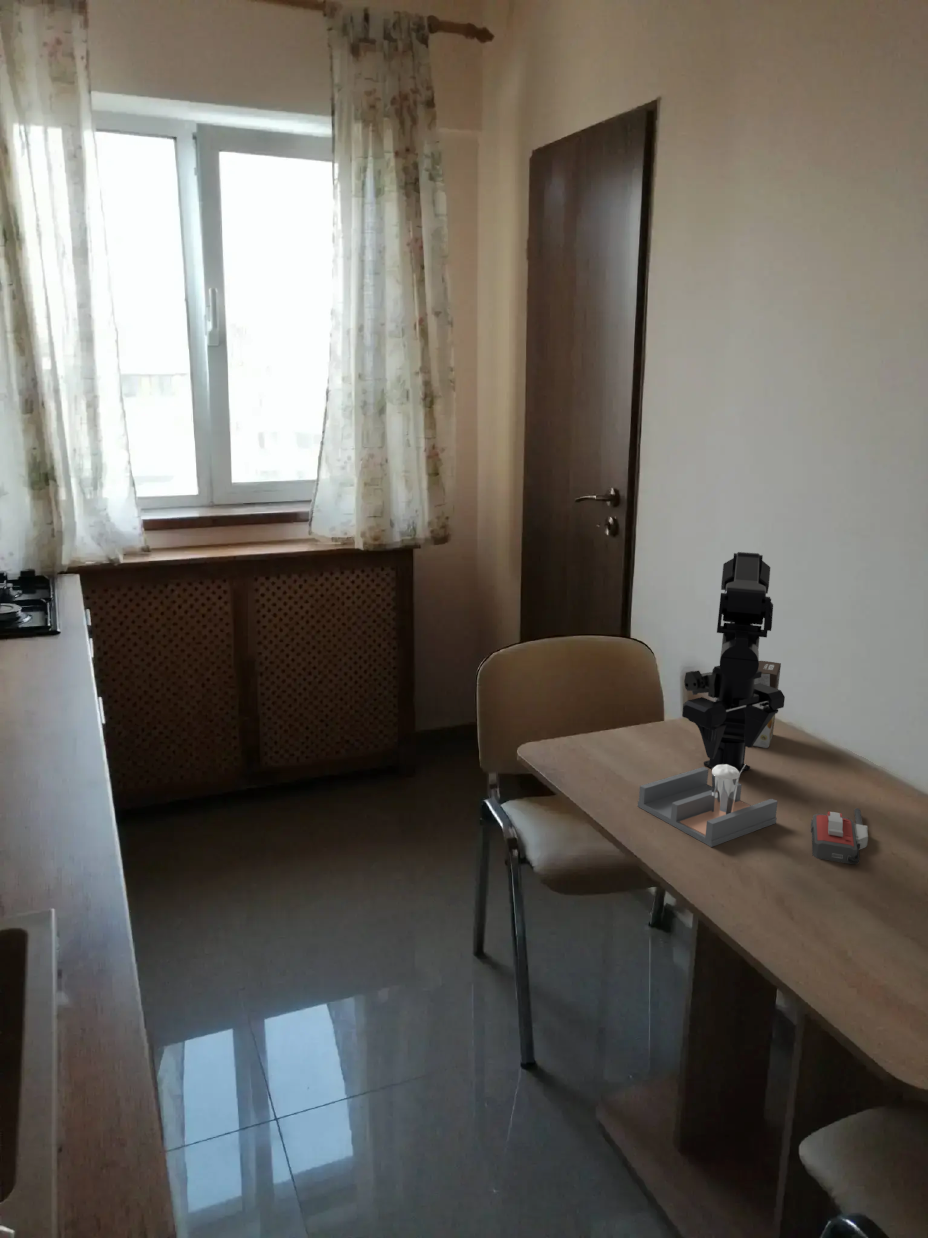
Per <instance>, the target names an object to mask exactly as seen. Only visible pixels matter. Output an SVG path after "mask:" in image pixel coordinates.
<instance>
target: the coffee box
mask: <svg viewBox="0 0 928 1238" xmlns="http://www.w3.org/2000/svg"><path fill="white" fill-rule="evenodd" d="M781 667H782V663H780V662H775V661H773V662H772V661H767V660H759V667H758V670H759V671H762V674H761V678H757V679H755V684H758V683H761V684H764V685H767V686H770V687H773V688H776V689H779V684H780V676H781V675H780V674H781ZM775 721H776V714H775V715H774V716H773V717H772V719H771V720H770V721H769V723H768V724H767V725H766V727H765V728H764V729H763V731H762V732H761V734H760V735H759V737H758V738H757V740H756V741H755V743H754V744H753V746H752V747H758V748H763V749H768V748H769V746H770V745H771V741H772V738H773V735H774V729H775Z"/></svg>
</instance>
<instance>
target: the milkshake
mask: <svg viewBox="0 0 928 1238" xmlns="http://www.w3.org/2000/svg"><path fill="white" fill-rule="evenodd" d="M744 764H745V765H747V764H746V763H745V762H744ZM745 765H744V767H745ZM744 767H743V768H744ZM743 768H742V770H743ZM711 769H712V768H711ZM742 770H741V772H739V771H738V770H737V769H736V768H735V767H733V766H730V765H727V764H725V765H717V766H715V767H714V768H713V769H712V770H711V786H712V816H713V817H714V818H717V817H720V816H723V815H726V814H729V813H732V812H733V807H734V802H735V796H736V791H737V786H738V783H739V781H740V776H741V774H742Z"/></svg>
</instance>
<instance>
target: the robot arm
mask: <svg viewBox="0 0 928 1238" xmlns="http://www.w3.org/2000/svg"><path fill="white" fill-rule="evenodd" d="M770 577H771V566H770V565H769V564H768V563H766V562H765V561H764V560H763V555H762V554H760V553H758V552H757V553H755V552H742V551H741V552H740V551H738V552H736V553H735V552H734V553H733V557H732V558H731V559H729V560H728V561H725V562H724V563H723V565H722V575H721V586H720V590H721V591H724V592H720V599H719V608H718V616H717V617H718V618H717V627H716V634H722V641H721V650H720V656H719V657H720V658H719V665H716V666H714V667H713V668H712V671H710V672H709V671H708V672H704V673H701V671H700V670H692V671H687V672H685V674H684V682H683V683H684V687H685V690H686V691H687V692H691V694H692V695H693V696H694V695H698V694H708V695H707V696H708V697H710V698H713V699H714V700H711V699H708V698H706V697H703V696H701V697H697V698H693V699H688V700H687V701H685V702H684V703H683V704H682V710H681V711H682V714H681V717H683V718H685V719H687V720H688V721H689V722H691V723H693V724H695V725H696V727H697V728H698V730H699V732H700V733H699V734H700V735H701V738H702V743H703V746H704V749H705V754H706V756H707V758H709V759H708V760H706V761H704V762H703V765H704V766H706V767H707V768H710V769H713V768H714V767H715V766H717V765H725V764H727V765H730V766H733V767H735V768H736V769H737V770H738V771H739V773H740V772H741V770H742V768H743V767H744V765H745V757H746V749H747V748H749V749H750V748H752V747H754V746H753V744H754V743H755V741H756V740H757V738H758V737H759V735H760V734H761V732H762V731H763V729H764V728H765V727H766V725H767V724H768V723H769V721H770V720H771V719H772V717H773V716H774V715H775V716H776V714H778V713H779V709H783V708H784V707H785V697H786V696H785V694H784V692H782V690H781V689H779V688H778V689H776V688H773V687H770V686H767V685H764V684H761V683H758V684H755V679H757V678H761V674H762V671H759V670H758V667H759V661H760V659H759V658H760V657H759V656H760V655H759V654H760V653H759V645H760V638H767V637H768V632H771V631H772V629H773V628H772V627H773V612H774V604H773V602H772V598H771V596H767V594H768V592H769V587H770ZM722 621H723V625H722ZM762 625H763V629H762ZM748 770H751V766H750V765H747V764H746V765H745V767H744V768H743V770H742V772H745V771H748ZM742 772H741V773H742Z"/></svg>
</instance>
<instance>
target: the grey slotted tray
mask: <svg viewBox="0 0 928 1238" xmlns="http://www.w3.org/2000/svg"><path fill="white" fill-rule="evenodd" d="M708 777H709V768H708V767H707V768H706V767H705V766H702V767H698V768H696V769H691V770H688V771H686V772H682V773H679V774H675V775H671V776H669V777H666V778H662V779H659V780H655V781H651V782H647V783H645V784H642V785H639V795H638V801H637V807H638V808H640V809H642V810H643V811H645V812H647V813H649V814H650V815H652V816H654V817H657V818H658V819H660V820H662V821H663V822H665V823H667V824H669V825H670V826H672V827H674V828H676V829H678V830H679V831H681V832H683V833H685V834H687V835H689V836H691V837H692V838H694V839H696V840H698V841H700V842H701V843H704V844H705V845H707V846H709V847H711V848H713V847H715V846H718V845H721V844H723V843H726V842H729V841H731V840H734V839H737V838H740V837H742V836H745V835H747V834H748V835H749V834H750V833H753V832H755V831H759V830H761V829H764V828H766V827H770V826H772V825H774V824H776V823H777V809H778V800H776V799H773V798H769V799H766V800H763V801H760V802H758V803H755V804H752V805H751V804H749V803H747V802H746V801H745V802H744V801H743V800H741V795H742V786H743V785H742V784H741V783H739V782H738V786H737V791H736V796H735V802H734V807H733V812H732V813H729V814H726V815H723V816H720V817H717V818H714V817H713V816H712V785H710V784H708V780H709V779H708Z"/></svg>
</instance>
